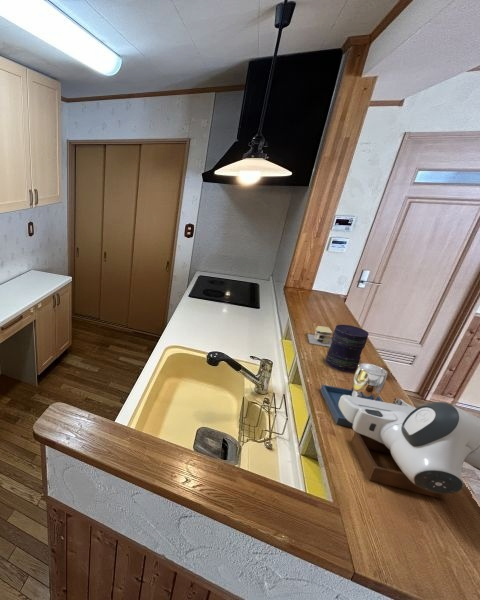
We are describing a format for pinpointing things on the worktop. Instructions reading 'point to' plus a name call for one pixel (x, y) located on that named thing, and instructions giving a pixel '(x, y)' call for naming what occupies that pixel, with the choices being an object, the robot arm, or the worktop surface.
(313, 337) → the stacked layers on plate
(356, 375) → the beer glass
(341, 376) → the worktop surface
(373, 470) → the wooden square box
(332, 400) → the tray
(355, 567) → the worktop surface
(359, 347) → the navy layered cylinder
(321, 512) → the worktop surface
